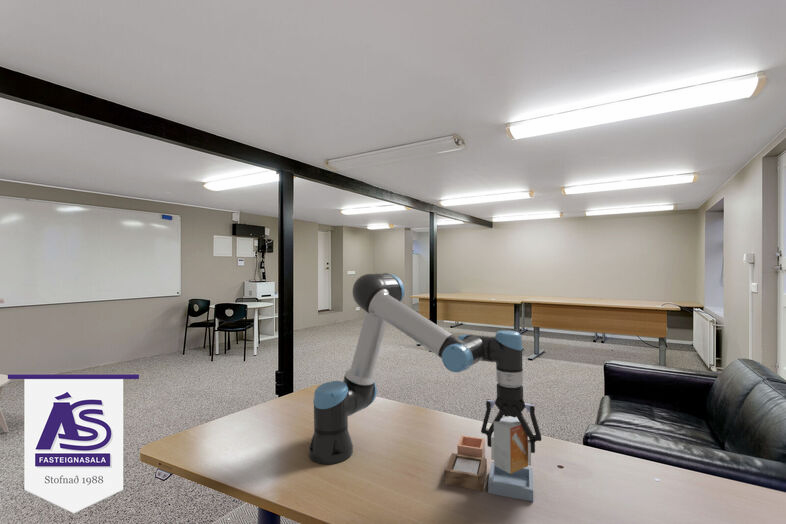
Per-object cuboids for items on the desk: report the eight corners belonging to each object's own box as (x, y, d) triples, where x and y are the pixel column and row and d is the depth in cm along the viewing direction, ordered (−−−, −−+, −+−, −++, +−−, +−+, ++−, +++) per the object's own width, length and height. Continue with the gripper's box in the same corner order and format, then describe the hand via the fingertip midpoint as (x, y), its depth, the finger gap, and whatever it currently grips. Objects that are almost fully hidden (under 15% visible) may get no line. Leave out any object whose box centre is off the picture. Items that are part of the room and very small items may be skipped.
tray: (488, 493, 105) (488, 482, 105) (491, 471, 117) (491, 461, 117) (533, 501, 101) (533, 490, 101) (532, 478, 113) (532, 468, 113)
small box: (510, 475, 104) (510, 428, 105) (493, 465, 110) (492, 420, 110) (529, 466, 109) (528, 421, 109) (511, 457, 114) (510, 414, 114)
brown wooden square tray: (445, 483, 110) (445, 470, 110) (452, 465, 120) (452, 453, 121) (483, 491, 106) (483, 476, 106) (486, 471, 117) (486, 458, 117)
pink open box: (457, 464, 121) (457, 445, 121) (461, 452, 129) (461, 435, 129) (482, 468, 119) (482, 449, 119) (485, 456, 126) (484, 438, 126)
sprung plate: (452, 474, 111) (452, 470, 111) (457, 461, 118) (457, 457, 118) (476, 479, 109) (476, 474, 109) (479, 465, 116) (479, 461, 116)
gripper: (470, 384, 110) (471, 460, 109) (551, 391, 103) (552, 473, 102) (473, 377, 117) (474, 448, 116) (549, 383, 110) (551, 460, 109)
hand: (511, 460), depth 109 cm, fingers closed on small box, 10 cm apart
